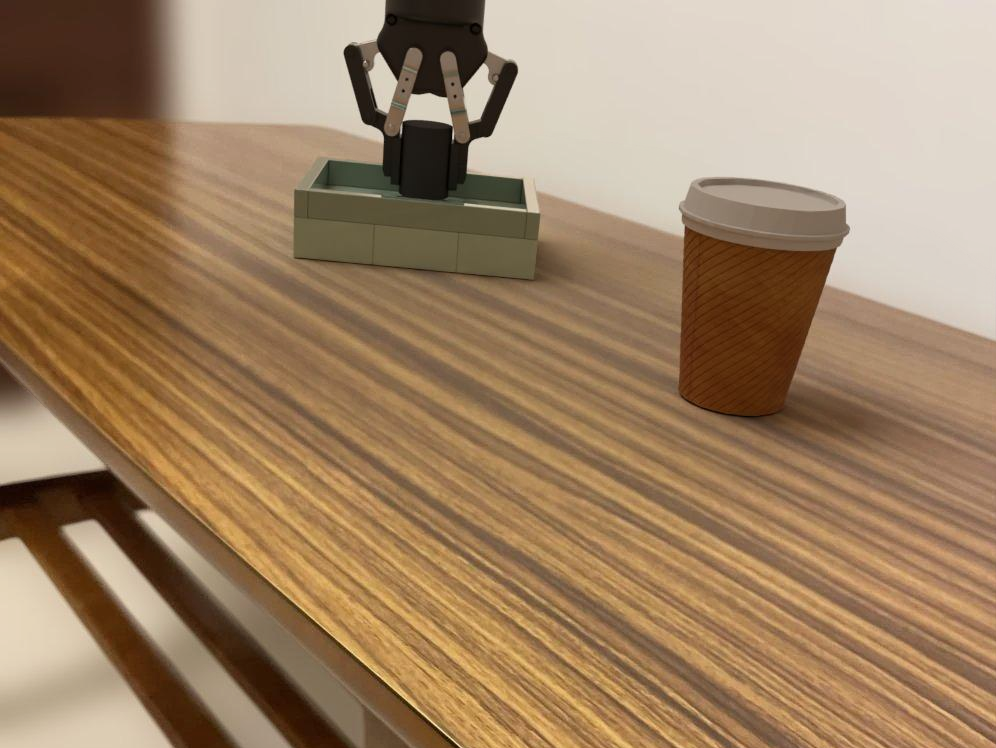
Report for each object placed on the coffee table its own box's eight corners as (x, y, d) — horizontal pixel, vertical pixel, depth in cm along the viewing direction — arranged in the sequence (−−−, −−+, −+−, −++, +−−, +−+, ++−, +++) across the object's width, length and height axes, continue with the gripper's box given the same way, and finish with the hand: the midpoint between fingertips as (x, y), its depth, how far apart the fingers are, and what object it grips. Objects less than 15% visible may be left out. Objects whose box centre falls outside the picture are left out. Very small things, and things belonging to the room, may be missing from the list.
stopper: (397, 197, 98) (400, 125, 95) (400, 187, 101) (403, 117, 99) (447, 202, 98) (452, 130, 96) (448, 192, 102) (453, 123, 99)
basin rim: (293, 216, 90) (294, 189, 89) (317, 180, 103) (317, 156, 102) (537, 240, 92) (540, 213, 91) (531, 202, 104) (534, 178, 103)
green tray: (293, 257, 92) (293, 216, 90) (317, 215, 105) (317, 179, 103) (533, 280, 93) (537, 240, 92) (527, 236, 106) (531, 200, 105)
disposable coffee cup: (788, 376, 78) (827, 184, 73) (830, 433, 70) (877, 219, 64) (640, 365, 77) (669, 169, 72) (664, 420, 69) (699, 203, 63)
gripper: (336, -59, 88) (330, 186, 95) (535, -36, 89) (512, 204, 97) (347, -60, 95) (340, 169, 102) (531, -39, 96) (511, 186, 103)
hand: (424, 185), depth 99 cm, fingers closed on stopper, 4 cm apart
